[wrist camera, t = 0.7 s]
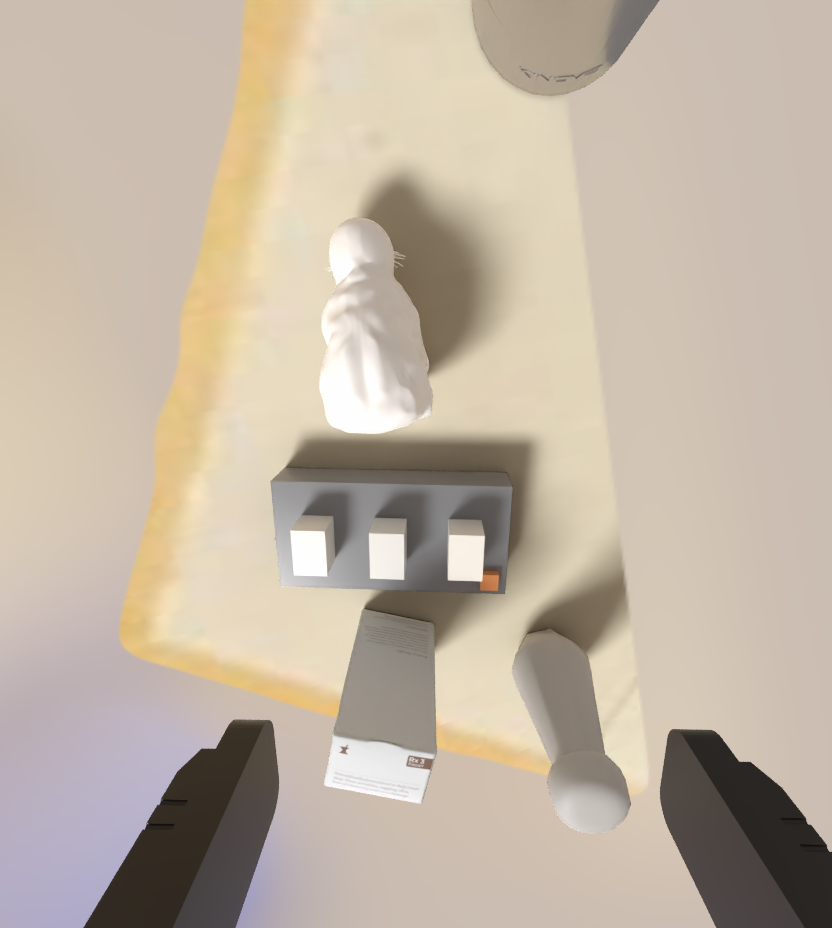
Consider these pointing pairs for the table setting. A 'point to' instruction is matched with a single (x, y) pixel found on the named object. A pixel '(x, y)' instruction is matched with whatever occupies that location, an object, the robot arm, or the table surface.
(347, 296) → the whiskered white figurine
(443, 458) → the table surface
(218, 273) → the table surface
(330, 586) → the panel
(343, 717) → the skincare box
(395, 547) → the block
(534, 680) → the salt shaker
